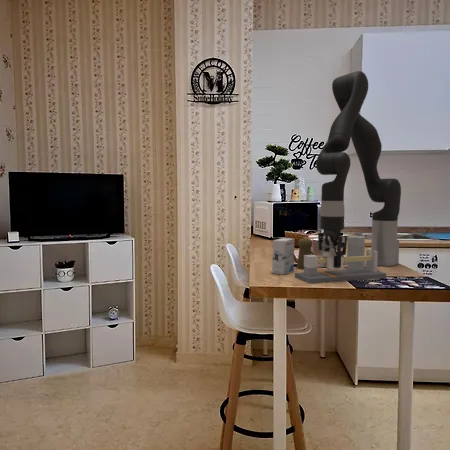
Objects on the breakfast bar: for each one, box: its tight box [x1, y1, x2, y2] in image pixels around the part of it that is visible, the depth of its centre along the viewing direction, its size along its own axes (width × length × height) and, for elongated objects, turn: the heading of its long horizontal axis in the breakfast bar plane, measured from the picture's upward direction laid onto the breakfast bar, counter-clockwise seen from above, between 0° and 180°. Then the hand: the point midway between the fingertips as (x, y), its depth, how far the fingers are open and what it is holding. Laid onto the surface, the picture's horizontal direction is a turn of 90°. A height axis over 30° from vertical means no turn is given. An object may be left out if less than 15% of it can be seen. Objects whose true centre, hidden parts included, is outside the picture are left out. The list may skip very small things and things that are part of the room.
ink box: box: [271, 237, 295, 276], centre depth 145 cm, size 9×5×12 cm, turn 148°
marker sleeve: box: [319, 250, 345, 270], centre depth 135 cm, size 5×6×5 cm
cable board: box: [294, 249, 387, 284], centre depth 136 cm, size 28×10×8 cm, turn 107°
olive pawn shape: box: [296, 238, 313, 271], centre depth 153 cm, size 6×6×11 cm
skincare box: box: [346, 235, 366, 270], centre depth 151 cm, size 6×4×12 cm
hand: (331, 265), depth 135 cm, fingers closed on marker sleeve, 6 cm apart
